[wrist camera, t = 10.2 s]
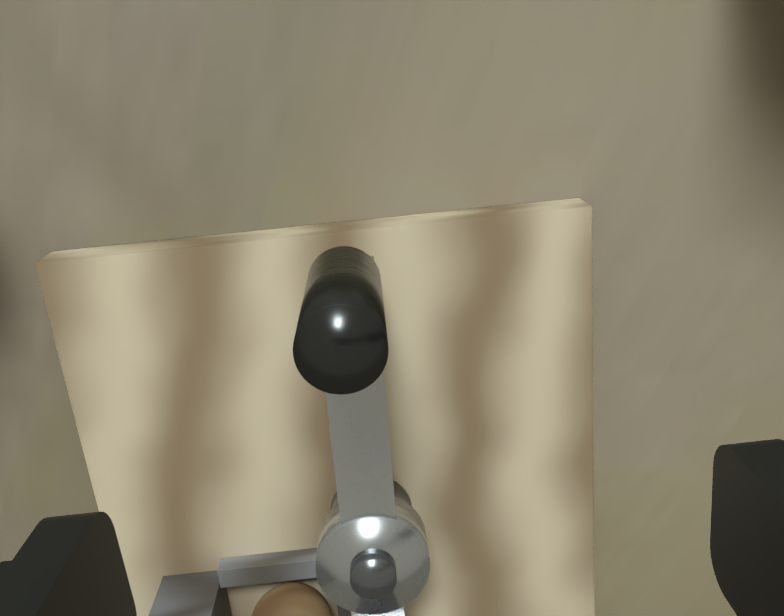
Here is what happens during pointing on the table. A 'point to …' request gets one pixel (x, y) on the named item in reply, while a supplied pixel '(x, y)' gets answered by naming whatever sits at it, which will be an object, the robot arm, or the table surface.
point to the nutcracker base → (310, 415)
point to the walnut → (292, 601)
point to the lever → (358, 440)
